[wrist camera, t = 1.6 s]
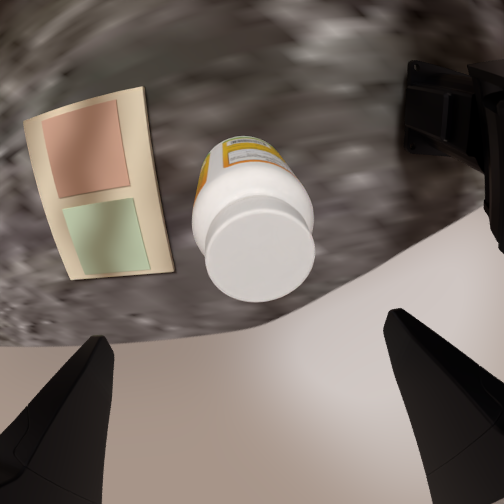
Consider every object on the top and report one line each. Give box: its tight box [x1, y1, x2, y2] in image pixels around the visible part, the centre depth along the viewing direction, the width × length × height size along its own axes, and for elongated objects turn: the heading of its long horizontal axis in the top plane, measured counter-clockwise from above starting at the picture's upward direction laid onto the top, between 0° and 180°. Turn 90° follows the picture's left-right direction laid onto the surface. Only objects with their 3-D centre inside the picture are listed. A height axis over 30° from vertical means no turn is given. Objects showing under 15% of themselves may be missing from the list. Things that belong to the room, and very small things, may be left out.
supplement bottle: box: [192, 136, 315, 302], centre depth 15 cm, size 5×5×10 cm
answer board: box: [23, 86, 175, 280], centre depth 18 cm, size 9×13×1 cm
